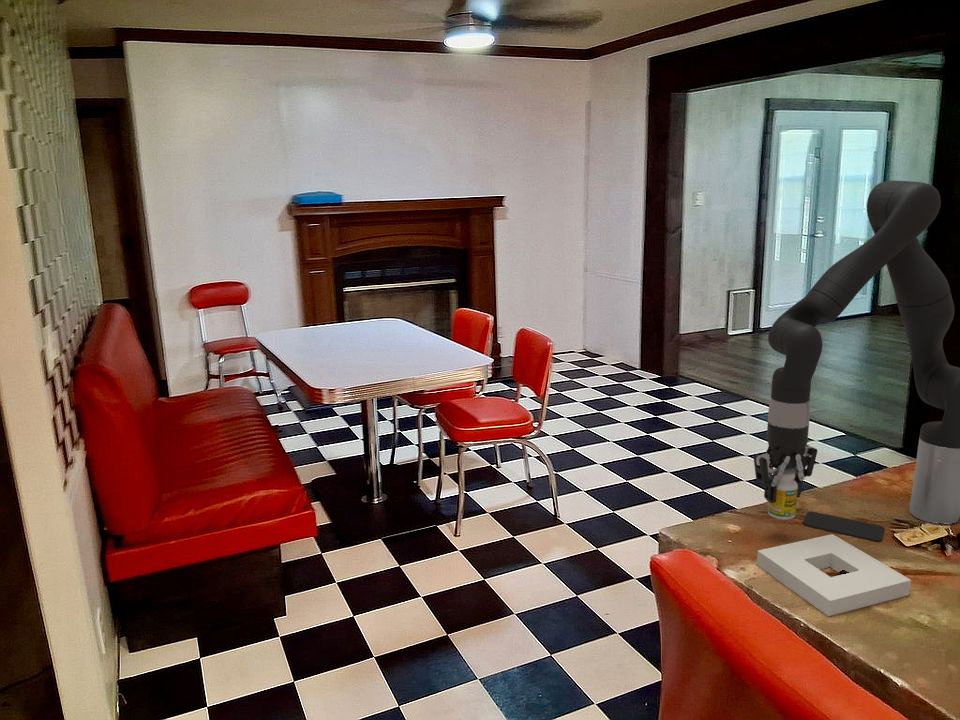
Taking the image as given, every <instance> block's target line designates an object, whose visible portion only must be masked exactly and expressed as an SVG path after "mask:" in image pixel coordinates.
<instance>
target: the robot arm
mask: <svg viewBox="0 0 960 720" xmlns="http://www.w3.org/2000/svg"><path fill="white" fill-rule="evenodd" d="M940 195H941V194H940V192H939V190H938V189H937V188H936V187H935V186H934V185H932V184H930V183H928V182H927V183H926V182H921V181H910V180H909V181H907V180H886V181H882V182H880V183H877V184H876V185H875V186H874V187H873V188H872V190H871V191H870V192H869V194H868V197H867V201H866V213H867V218H868V222H869V223H870V226H871V229H872V232H873V233H874V235H873V236H871V237H870V239H868V240H867V241H865V242H864V243H863V244H862V245H860V246H859V247H857V248H856V249H854V250H852V251H851V252H850V253H848V254H846V255H845V256H844V257H842V258H841V259H839V260H837V261H836V262H835V263H834V264H832V266H830V267H828V269H827V270H826V271H825V272H824V273H823V274H822V275H821V277H819V279H818V280H817V281H816V282H815V284H813V286H812V287H811V289H810V290H809V291H808V292H807V294H806V295H805V296H804V297H803V298H802V299H800V300H799V301H797V302H796V303H794V304H793V305H792V306H791V307H790V308H788V309H787V310H785V312H784V313H782V314H781V315H780V316H779V317H778V318H776V320H775V321H774V322H773V324H772V326H771V327H770V329H769V332H768V337H767V338H768V344H769V346H770V347H771V349H773V351H775V352H777V353H778V354H781V355H783V356H785V361H784V365H783V367H782V366H781V367H778V368H776V369H775V370H774V371H773V374H772V376H771V378H772V379H771V391H770V400H769V404H768V405H769V406H768V410H767V411H768V412H767V414H768V415H767V424H766V425H767V428H766V441H767V444H768V447H767V449H766V452H765V453H762V454H761V455H759V454H754V455H753V464H754V465H753V466H754V473H755V480H756V481H757V482H759V483H761V484H763V485H764V494H763V497H764V499H765V500H766V501H767V503H768V502H770V503H775V502H776V490H777V486H776V484H777V481H778V479H779V477H781V476H782V474H783V472H784V470H786V469H792V470H794V471H795V478H794V480H795V481H796V482H797V484H798V491H797V499H798V498H800V497H801V495H802V491H803V490H802V489H803V488H802V487H803V481H804V480H805V478H806V477H811V476H812V475H813V470H814V466H815V464H816V458H817V454H818V449H817V448H816V447H813V446H811V445H809V444H808V442H809V439H808V438H809V427H810V416H811V414H810V413H811V405H810V403H811V402H810V399H811V398H810V397H811V387H812V378H813V376H814V374H815V372H816V369H817V366H818V363H819V361H820V358H821V356H822V353H823V352H822V351H823V338H822V335H821V333H820V331H819V329H817V326H818V325H819V324H822V323H829V322H833V321H835V320H836V319H837V318H838V317H839V316H841V314H842V313H843V312H844V311H845V309H846V308H847V307H848V306H849V305H850V303H851V302H852V301H853V300H854V298H855V297H856V296H857V295H858V293H860V292H861V290H862V289H863V288H864V286H866V285H867V284H868V283H869V282H870V280H871V279H872V278H873V277H875V275H877V273H878V272H880V270H881V269H883V268H884V267H886V269H887V270H888V274H889V277H890V281H891V284H892V287H893V291H894V296H895V300H896V303H897V307H898V311H899V314H900V317H901V320H902V322H903V326H904V330H905V333H906V338H907V339H906V340H907V342H908V347H909V350H910V351H909V352H910V355H911V363H912V368H913V375H914V376H913V377H914V384H915V388H916V392H917V394H918V396H919V398H920V399H921V400H922V402H924V403H925V404H927V405H929V406H931V407H934V408H937V409H941V410H943V411H944V414H943V418H942V420H940V421H939V420H938V421H936V420H935V421H929V422H924V424H922V425H921V427H920V429H919V430H920V432H919V437H918V438H919V439H918V445H917V452H916V453H917V454H916V459H915V460H916V461H915V467H914V475H913V483H912V490H911V496H910V504H909V510H908V511H909V513H910V514H911V515H912V516H914V517H915V518H916V519H919V520H921V521H923V522H927V523H930V522H937V523H949V524H948V525H953V524H952V523H955V524H957V523H959V521H960V518H959V517H960V367H958V366H954V365H951V364H950V363H949V362H948V360H947V358H946V354H945V351H944V343H943V341H944V337H945V336H946V334H947V333H948V331H949V329H950V326H952V322H953V320H954V316H955V304H954V300H953V297H952V291H951V288H950V285H949V282H948V279H947V278H946V276H945V274H944V273H943V272H942V270H941V269H940V267H939V266H938V265H937V264H936V263H935V261H934V260H933V259H932V258H931V256H930V255H929V254H928V253H927V251H925V249H924V248H923V247H922V245H921V243H920V241H919V239H918V236H920V235H921V234H922V233H923V232H924V231H925V230H927V228H929V227H930V226H931V224H932V223H933V222H934V220H935V219H936V217H937V216H938V214H939V212H940V209H941V204H942V200H941V196H940ZM775 468H777V471H776V470H774V469H775ZM958 520H959V521H958ZM956 522H957V523H956Z"/></svg>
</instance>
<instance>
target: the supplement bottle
mask: <svg viewBox="0 0 960 720" xmlns="http://www.w3.org/2000/svg"><path fill="white" fill-rule="evenodd" d="M773 469H774V470H776V471H777V468H775V467H774V468H773ZM794 478H795V471H794V470H792V469H786V470H784V472H783V474H782V476H781V477H779V479H778V481H777V484H776V486H777V490H776V502H775V503H770V502H768V501H767V513H768V515H769V516H770V517H773V518H774V519H778V520H784V521H785V520H792V519H794V518H795V517H796V514H797V500H798V498H797V491H798V484H797V482H796V481H795V480H794Z"/></svg>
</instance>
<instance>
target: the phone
mask: <svg viewBox="0 0 960 720" xmlns="http://www.w3.org/2000/svg"><path fill="white" fill-rule="evenodd" d="M802 525H803V526H805V527H807V528H813V529H815V530H820V531H825V532H830V533H832V534H839V535H842V536H847V537H850V538H855V539H861V540H863V541H870V542H875V543H881V542H882V541H883V537H884V534H885V527H884V526H882V525H879V524H875V523H870V522H865V521H860V520H856V519H851V518H846V517H842V516H835V515H831V514H825V513H821V512H816V511H808V512H806V514H805V516H804V519H803V521H802Z"/></svg>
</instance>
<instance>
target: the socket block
mask: <svg viewBox="0 0 960 720" xmlns="http://www.w3.org/2000/svg"><path fill="white" fill-rule="evenodd" d="M756 566H758V567H759V568H760V569H762V570H763V571H765V572H766V573H768V574H769V575H771V577H773V578H774V579H776V580H778V581H779V582H780V583H782V584H783V585H785V587H787V588H788V589H790V590H791V591H792V592H794V593H795V594H797V595H798V596H799V597H801V598H802V599H803V600H805V601H806V602H808V603H809V604H810V605H812V606H813V607H814V608H816V609H817V610H819V611H820V612H821V613H823V614H824V615H825V616H827V617H832V616H836V615H839V614H843V613H847V612H850V611H855V610H858V609H862V608H867V607H869V606H873V605H874V606H875V605H877V604H881V603H884V602H889V601H893V600H895V599H896V600H897V599H901V598H904V597H907V596H910V590H911V584H912V579H910V578H909V577H907V576H905V575H903V574H901V573H900V572H898V571H897V570H895V569H893V568H891V567H890V566H887V564H884V563H883V562H881V561H879V560H878V559H876V558H874V557H873V556H871V555H869V554H868V553H866V552H864V551H862V550H860V549H858V548H857V547H856V546H853V545H852V544H850V543H849V542H847V541H845V540H843V539H841V538H840V537H838V536H836V535H834V533H832V534H826V535H823V536H822V535H821V536H818V537H813V538H809V539H803V540H800V541H796V542H791V543H790V542H789V543H786V544H781V545H776V546H772V547H769V548H762V549H759V550H757V556H756ZM828 568H830V569H832V570H834V571H836V572H838V573H839V572H840V571H842V570H845V571H847V572H849V573H846V574H839V575H835V576H830V575H829V574H827V573H825V572H824V571H822V570H823V569H828Z"/></svg>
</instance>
